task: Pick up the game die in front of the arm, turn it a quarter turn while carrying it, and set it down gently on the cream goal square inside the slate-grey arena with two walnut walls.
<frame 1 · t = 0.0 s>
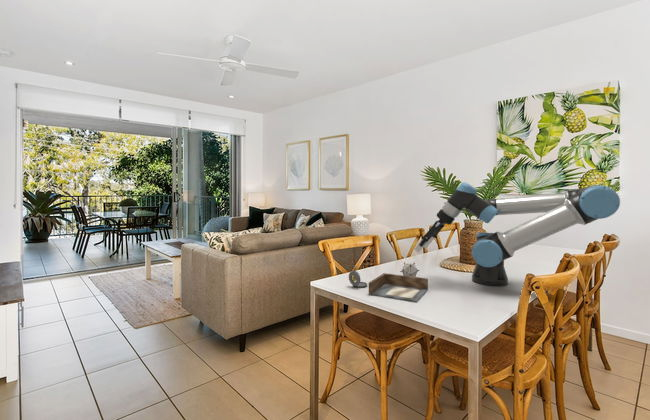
hand: (420, 248, 160), 15 cm above the table, tool tilted 35°, fingers open, 13 cm apart
game die: (409, 279, 163), on the table
pocket watch: (357, 286, 152), on the table
arena: (398, 292, 143), on the table
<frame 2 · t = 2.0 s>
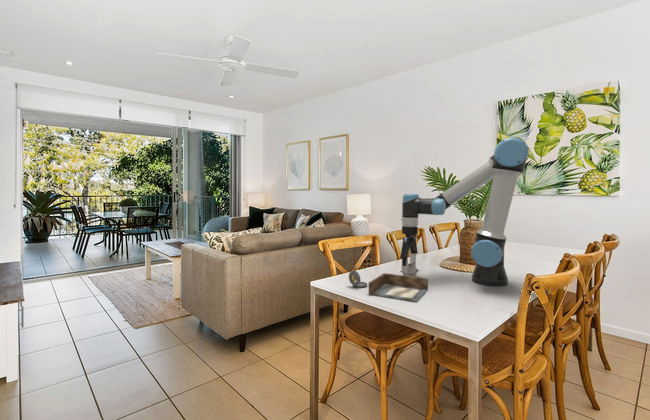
hand: (408, 269, 163), 5 cm above the table, tool pointing down, fingers open, 13 cm apart
nothing on the table moved.
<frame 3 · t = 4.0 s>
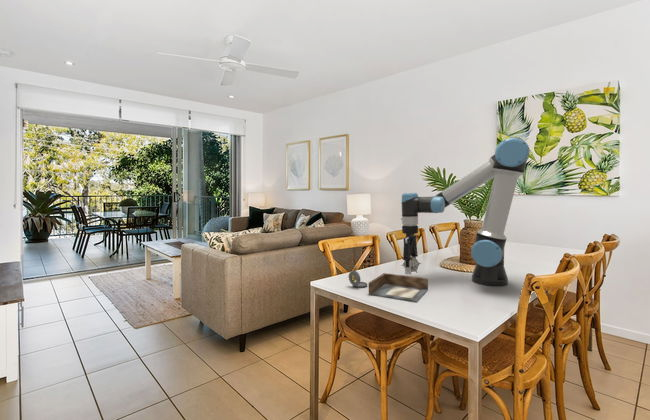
hand: (410, 271, 163), 4 cm above the table, tool pointing down, fingers closed on game die, 8 cm apart
game die: (411, 272, 163), point 3 cm above the table, touching gripper
everything else where it was.
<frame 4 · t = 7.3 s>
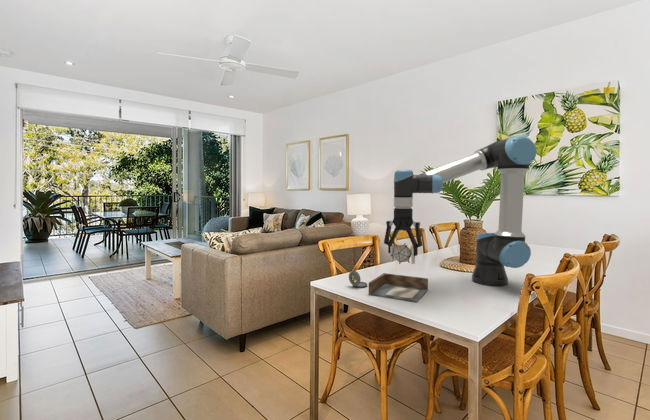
hand: (402, 262, 140), 13 cm above the table, tool pointing down, fingers closed on game die, 8 cm apart
game die: (402, 263, 140), point 13 cm above the table, touching gripper
everything else where it was.
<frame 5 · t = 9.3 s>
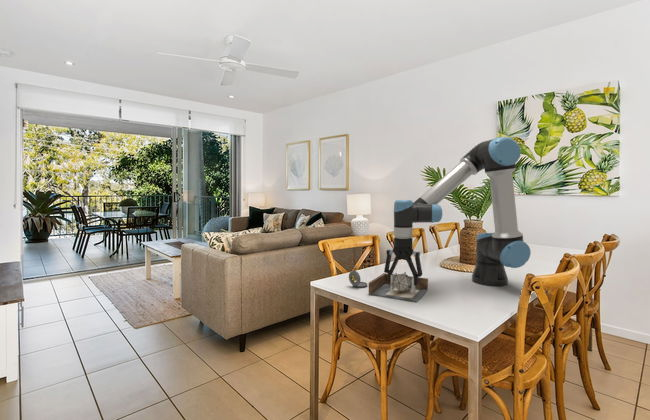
hand: (402, 291, 141), 1 cm above the table, tool pointing down, fingers closed on game die, 8 cm apart
game die: (402, 292, 140), point 1 cm above the table, touching gripper
everything else where it was.
when the fingers open (1 cm above the table, at t = 10.6 s): game die stays where it is, resting on arena.
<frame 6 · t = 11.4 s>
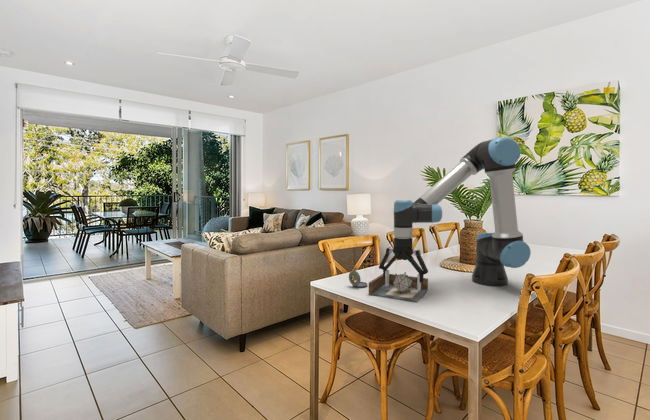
hand: (402, 287, 140), 3 cm above the table, tool pointing down, fingers open, 13 cm apart
game die: (402, 292, 140), resting on arena
everything else where it was.
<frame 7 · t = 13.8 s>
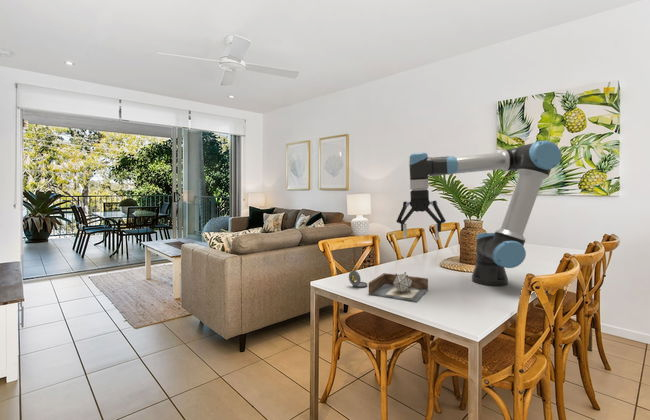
hand: (420, 239, 145), 22 cm above the table, tool pointing down, fingers open, 13 cm apart
nothing on the table moved.
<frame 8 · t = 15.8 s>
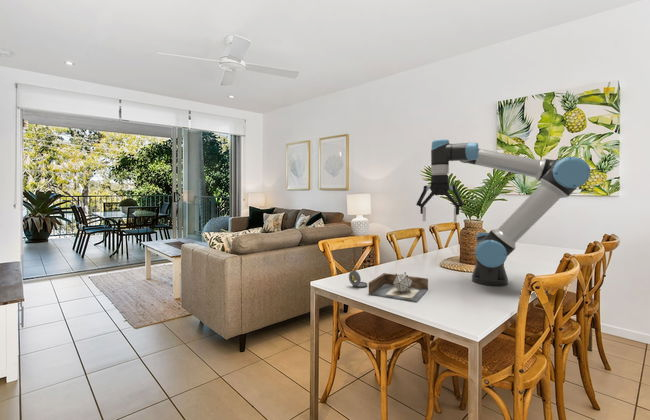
hand: (439, 221, 153), 29 cm above the table, tool pointing down, fingers open, 13 cm apart
nothing on the table moved.
at the end: game die inside the target area (0.5 cm from its centre), point 0.5 cm above the table; game die touching arena; the gripper is holding nothing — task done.
